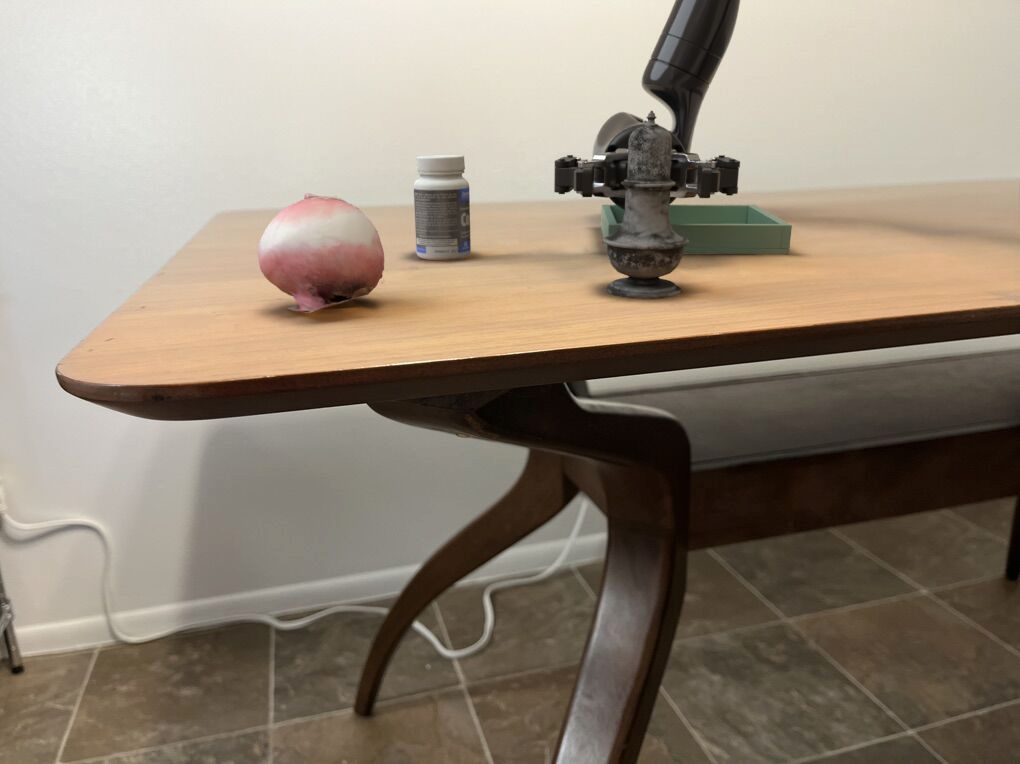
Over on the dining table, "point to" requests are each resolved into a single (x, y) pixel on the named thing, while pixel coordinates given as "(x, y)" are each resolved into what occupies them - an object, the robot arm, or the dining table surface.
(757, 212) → the tray
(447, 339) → the dining table surface
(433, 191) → the pill bottle
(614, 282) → the salt shaker
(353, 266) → the onion
